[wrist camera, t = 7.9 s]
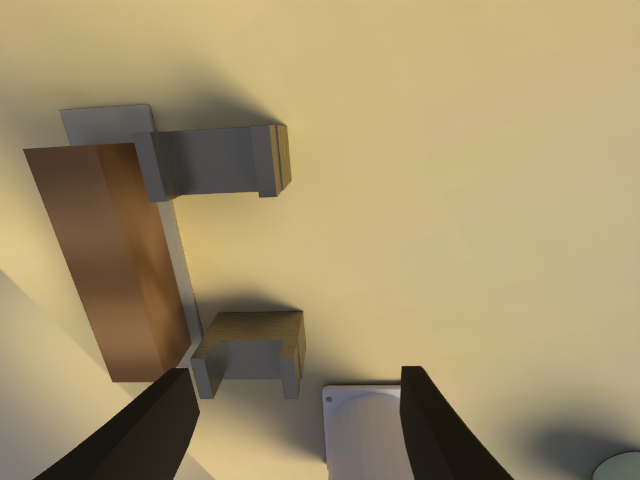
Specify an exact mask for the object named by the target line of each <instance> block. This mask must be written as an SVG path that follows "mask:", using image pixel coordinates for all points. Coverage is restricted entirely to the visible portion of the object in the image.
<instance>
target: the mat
mask: <svg viewBox="0 0 640 480" xmlns="http://www.w3.org/2000/svg"><path fill="white" fill-rule="evenodd" d="M59 111H60V114H61V117H62V120H63V123H64V126H65V129H66V132H67V135H68V138H69V141H70V144H71V146H81V145H98V144H116V143H133V142H134V140H133V136H132V133H139V132H156V130H155V126H154V122H153V117H152V113H151V109H150V105H147V104H146V105H130V106H115V107H100V108H84V109H69V110H59ZM157 205H158V209H159V213H160V217H161V221H162V225H163V229H164V233H165V237H166V241H167V245H168V249H169V253H170V257H171V261H172V265H173V269H174V273H175V277H176V281H177V285H178V289H179V293H180V297H181V301H182V305H183V309H184V313H185V317H186V321H187V325H188V329H189V333H190V337H191V341H192V345H191V346H190V348H189V349H188V351H187V352H186V354H185V355H184V357H183V358H182V360H181V361H180V363H179V364H178V366H177V367H192V365H191V361H190V358H191V357H192V355H193V353H194V352H195V350H196V349H197V347H198V345H199V344H200V342H201V339H202V338H203V334H202V329H201V325H200V321H199V316H198V312H197V308H196V303H195V299H194V295H193V290H192V286H191V282H190V277H189V273H188V269H187V264H186V260H185V256H184V251H183V247H182V243H181V238H180V234H179V230H178V226H177V221H176V217H175V213H174V208H173V204H172V200H169V201H167V202H157Z"/></svg>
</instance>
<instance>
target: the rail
mask: <svg viewBox="0 0 640 480" xmlns="http://www.w3.org/2000/svg"><path fill="white" fill-rule="evenodd" d="M23 151H24V153H25V156H26V159H27V161H28V164H29V166H30V169H31V172H32V174H33V177H34V179H35V182H36V185H37V187H38V190H39V192H40V195H41V198H42V200H43V203H44V205H45V208H46V211H47V213H48V216H49V218H50V221H51V224H52V226H53V229H54V231H55V234H56V236H57V239H58V242H59V244H60V247H61V249H62V252H63V255H64V257H65V260H66V262H67V265H68V268H69V270H70V273H71V275H72V278H73V281H74V283H75V286H76V288H77V291H78V294H79V296H80V299H81V301H82V304H83V307H84V309H85V312H86V314H87V317H88V320H89V322H90V325H91V327H92V330H93V332H94V335H95V338H96V340H97V343H98V345H99V348H100V351H101V353H102V356H103V358H104V361H105V364H106V366H107V369H108V371H109V374H110V377H111V379H112V382H155V381H156V380H157V379H159V378H160V377H161V376H162V375H163V374H165V373H166V372H167V371H168V370H170V369H171V368H176V367H177V366H178V364H179V363H180V361H181V360H182V358H183V357H184V355H185V354H186V352H187V351H188V349H189V348H190V346H191V345H192V341H191V337H190V333H189V329H188V325H187V321H186V317H185V313H184V309H183V305H182V301H181V297H180V293H179V289H178V285H177V281H176V277H175V273H174V269H173V265H172V261H171V257H170V253H169V249H168V245H167V241H166V237H165V233H164V229H163V225H162V221H161V217H160V213H159V209H158V205H157V202H149V198H148V194H147V190H146V186H145V183H144V179H143V175H142V171H141V167H140V163H139V159H138V155H137V152H136V148H135V144H134V142H133V143H116V144H98V145H81V146H65V147H49V148H33V149H23Z"/></svg>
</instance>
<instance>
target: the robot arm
mask: <svg viewBox="0 0 640 480" xmlns="http://www.w3.org/2000/svg"><path fill="white" fill-rule="evenodd" d="M328 397H330V398H328ZM322 400H323V414H324V429H325V444H326V459H327V470H328V471H329V477H328V480H514V479H513V478H512V477H511V476H510V474H509V473H508V472H507V471H506V470H505V469H504V468H503V467H502V466H501V465H500V464H499V463H498V462H497V460H496V459H495V458H494V457H493V456H492V455H491V454H490V453H489V451H488V450H487V449H486V448H485V447H484V446H483V445H482V443H481V442H480V441H479V440H478V439H477V438H476V436H475V435H474V434H473V433H472V432H471V430H470V429H469V428H468V427H467V426H466V424H465V423H464V422H463V421H462V419H461V418H460V417H459V416H458V414H457V413H456V412H455V411H454V409H453V408H452V407H451V406H450V404H449V403H448V402H447V400H446V399H445V398H444V396H443V395H442V394H441V392H440V391H439V390H438V388H437V387H436V386H435V384H434V383H433V381H432V380H431V379H430V377H429V376H428V374H427V373H426V371H425V370H424V369H423V368H422V367H421V366H402V371H401V385H350V386H325V387H324V388H323V389H322ZM199 414H200V411H199V407H198V403H197V399H196V395H195V392H194V388H193V384H192V380H191V377H190V373H189V369H188V368H171V369H170V370H168V371H167V372H166V373H165V374H163V375H162V376H161V377H160V378H159V379H157V380H156V381H155V382H154V383H153V384H152V385H150V386H149V387H148V388H147V389H146V390H145V391H143V392H142V393H141V394H140V395H139V396H138V397H136V398H135V399H134V400H133V401H132V402H131V403H129V404H128V405H127V406H126V407H125V408H124V409H122V410H121V411H120V412H119V413H118V414H116V415H115V416H114V417H113V418H112V419H111V420H109V421H108V422H107V423H106V424H104V425H103V426H102V427H101V428H99V429H98V430H97V431H96V432H94V433H93V434H92V435H91V436H90V437H88V438H87V439H86V440H85V441H83V442H82V443H81V444H79V445H78V446H77V447H76V448H74V449H73V450H72V451H71V452H69V453H68V454H67V455H65V456H64V457H63V458H61V459H60V460H59V461H58V462H56V463H55V464H54V465H52V466H51V467H49V468H48V469H47V470H46V471H44V472H43V473H41V474H40V475H38V476H37V477H36V478H34V479H33V480H173V478H174V476H175V474H176V472H177V470H178V468H179V466H180V463H181V461H182V459H183V457H184V455H185V453H186V450H187V448H188V446H189V443H190V440H191V438H192V435H193V432H194V429H195V426H196V423H197V420H198V417H199Z"/></svg>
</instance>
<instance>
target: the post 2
mask: <svg viewBox="0 0 640 480" xmlns="http://www.w3.org/2000/svg"><path fill="white" fill-rule="evenodd" d="M305 349H306V342H305V330H304V319H303V311H281V312H231V313H218V314H217V316H216V317H215V319H214V321H213V322H212V324H211V325H210V327H209V328H208V330H207V332H206V333H205V335H204V336H203V338H202V339H201V342H200V344H199V345H198V347H197V349H196V350H195V352H194V353H193V355H192V357H191V358H190V361H191V365H192V368H193V372H194V376H195V380H196V384H197V388H198V392H199V396H200V399H214V396H215V394H216V392H217V390H218V387H219V385H220V383H221V381H222V379H282V382H283V390H284V397H285V399H298V396H299V389H300V381H301V379H302V372H303V364H304V357H305Z"/></svg>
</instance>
